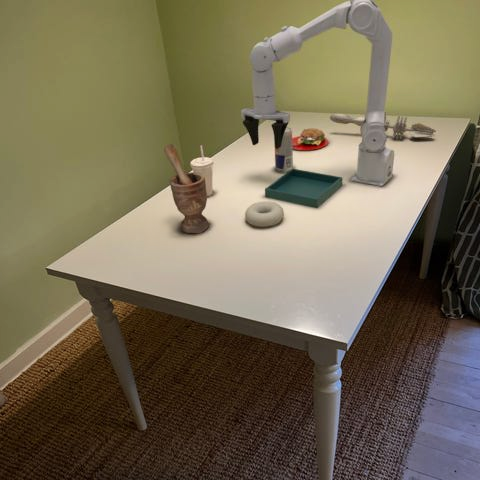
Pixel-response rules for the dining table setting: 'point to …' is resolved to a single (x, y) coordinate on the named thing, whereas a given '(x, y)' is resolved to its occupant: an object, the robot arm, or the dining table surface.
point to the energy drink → (284, 153)
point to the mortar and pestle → (188, 194)
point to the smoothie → (204, 170)
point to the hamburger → (309, 140)
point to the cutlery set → (389, 126)
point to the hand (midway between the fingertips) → (266, 145)
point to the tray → (304, 187)
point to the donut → (264, 214)
